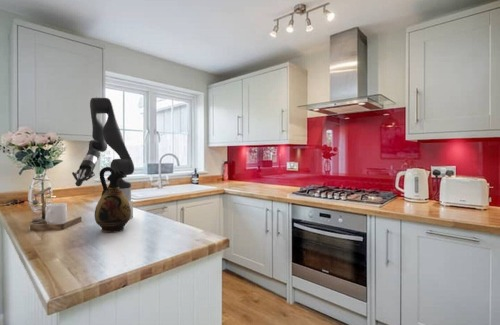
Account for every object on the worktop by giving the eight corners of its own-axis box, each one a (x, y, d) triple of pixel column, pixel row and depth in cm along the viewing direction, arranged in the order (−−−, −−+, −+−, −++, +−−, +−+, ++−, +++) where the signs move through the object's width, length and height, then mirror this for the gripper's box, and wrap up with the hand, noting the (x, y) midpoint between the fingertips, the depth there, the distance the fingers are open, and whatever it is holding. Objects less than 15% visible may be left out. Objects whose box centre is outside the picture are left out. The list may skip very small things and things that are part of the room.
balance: (59, 216, 151) (58, 186, 151) (38, 223, 135) (37, 190, 134) (48, 216, 151) (47, 186, 150) (26, 223, 135) (25, 190, 134)
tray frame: (81, 221, 140) (81, 216, 140) (63, 229, 125) (62, 224, 125) (52, 221, 139) (52, 217, 139) (30, 230, 124) (30, 224, 124)
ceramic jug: (137, 225, 132) (135, 166, 131) (121, 234, 117) (119, 167, 116) (103, 225, 132) (102, 166, 131) (83, 234, 117) (82, 167, 116)
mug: (55, 228, 126) (54, 207, 126) (37, 229, 126) (36, 207, 125) (70, 222, 138) (70, 202, 138) (54, 222, 138) (54, 203, 137)
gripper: (75, 159, 159) (62, 181, 147) (97, 159, 160) (86, 180, 148) (80, 168, 165) (69, 189, 153) (102, 167, 165) (92, 189, 153)
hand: (77, 185), depth 150 cm, fingers closed
